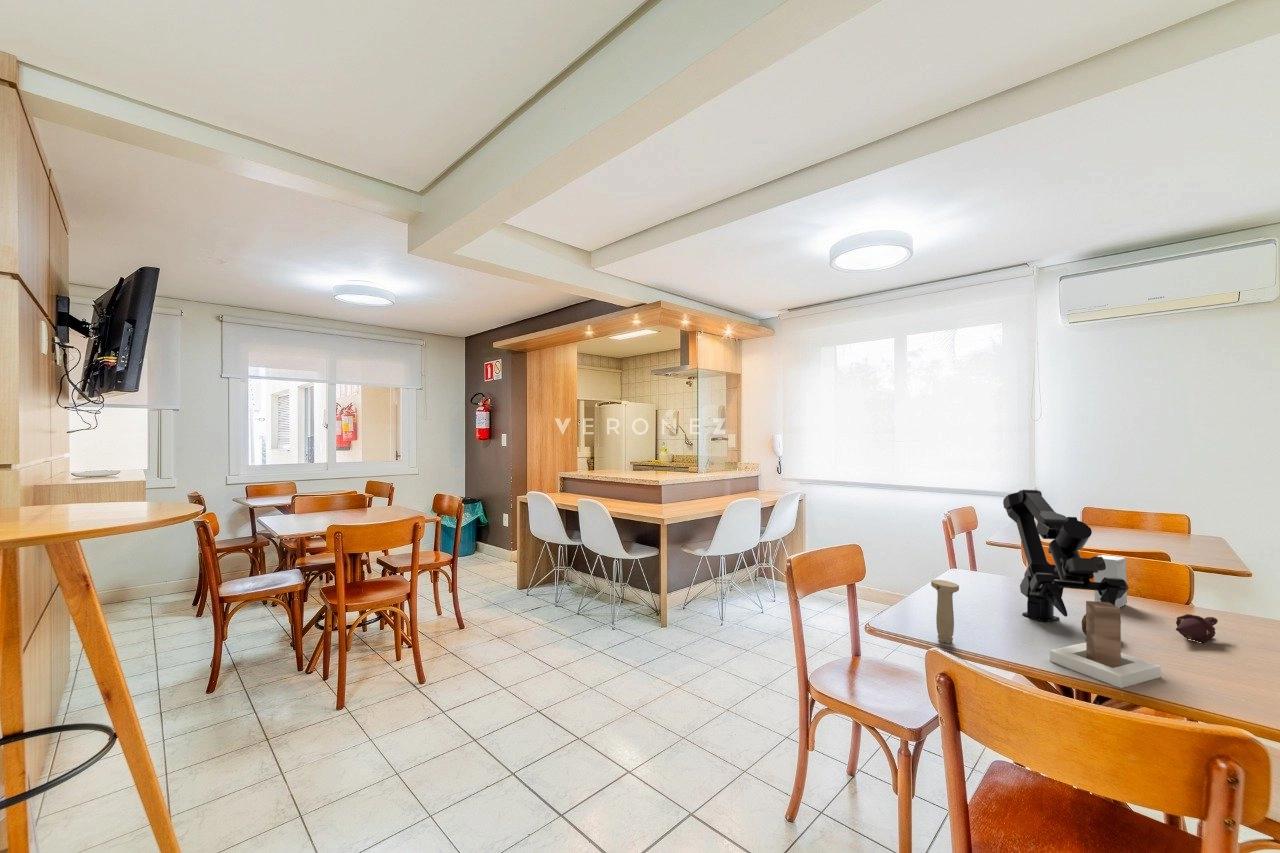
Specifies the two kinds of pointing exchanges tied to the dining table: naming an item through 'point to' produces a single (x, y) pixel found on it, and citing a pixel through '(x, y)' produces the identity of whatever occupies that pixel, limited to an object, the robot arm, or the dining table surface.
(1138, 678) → the socket block
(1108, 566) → the skincare box
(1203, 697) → the dining table surface
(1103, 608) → the peg
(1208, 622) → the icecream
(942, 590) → the handle
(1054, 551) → the robot arm
